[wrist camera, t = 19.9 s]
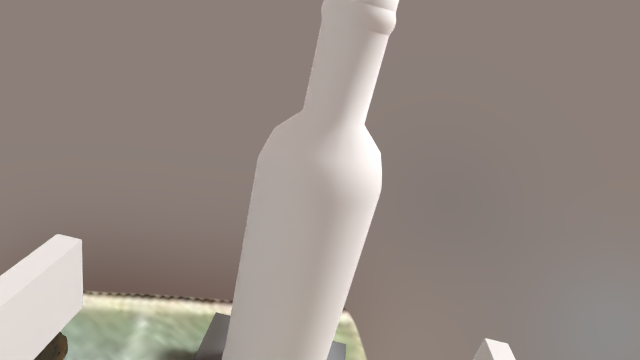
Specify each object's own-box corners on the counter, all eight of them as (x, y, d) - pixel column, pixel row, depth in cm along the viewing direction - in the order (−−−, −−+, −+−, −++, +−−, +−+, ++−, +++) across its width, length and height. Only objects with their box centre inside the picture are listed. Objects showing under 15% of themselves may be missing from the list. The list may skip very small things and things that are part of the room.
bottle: (302, 345, 36) (399, 0, 24) (326, 430, 29) (478, 7, 17) (214, 351, 33) (275, -35, 21) (218, 446, 26) (310, -43, 14)
